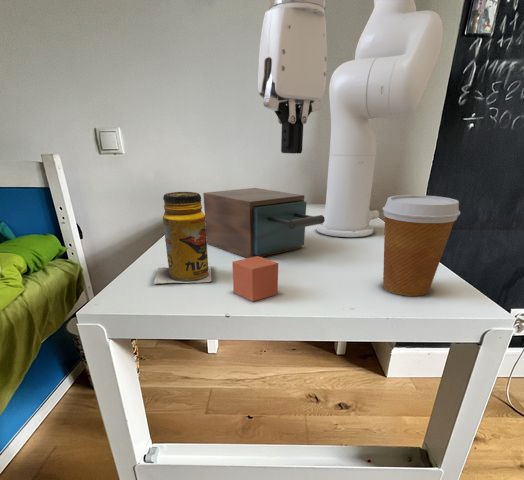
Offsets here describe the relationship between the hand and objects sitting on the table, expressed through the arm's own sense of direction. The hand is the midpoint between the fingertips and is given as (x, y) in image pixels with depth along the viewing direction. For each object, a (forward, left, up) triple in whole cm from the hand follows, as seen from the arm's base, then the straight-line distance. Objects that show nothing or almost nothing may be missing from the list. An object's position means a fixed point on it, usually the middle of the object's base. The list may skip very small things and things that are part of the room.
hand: (291, 152), depth 61 cm
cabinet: (0, -10, -17) cm, 20 cm away
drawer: (0, -5, -16) cm, 17 cm away
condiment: (+20, -2, -17) cm, 26 cm away
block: (+16, +11, -17) cm, 25 cm away
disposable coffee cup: (-2, +23, -17) cm, 28 cm away
